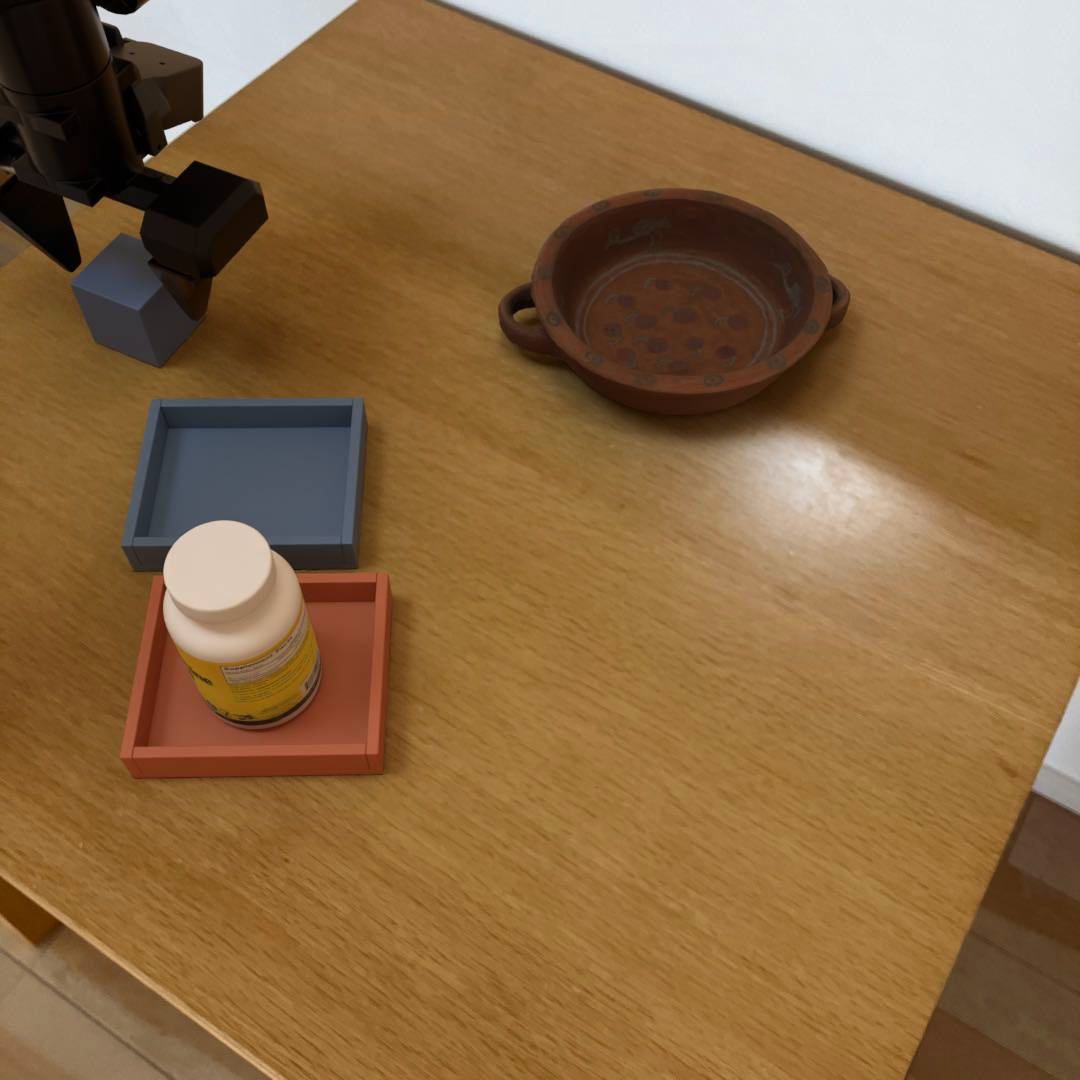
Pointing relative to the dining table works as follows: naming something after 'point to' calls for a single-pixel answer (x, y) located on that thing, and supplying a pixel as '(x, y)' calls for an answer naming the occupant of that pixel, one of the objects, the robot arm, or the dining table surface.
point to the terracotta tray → (292, 747)
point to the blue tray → (252, 476)
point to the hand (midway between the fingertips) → (136, 291)
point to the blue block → (130, 304)
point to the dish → (676, 299)
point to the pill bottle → (241, 625)
